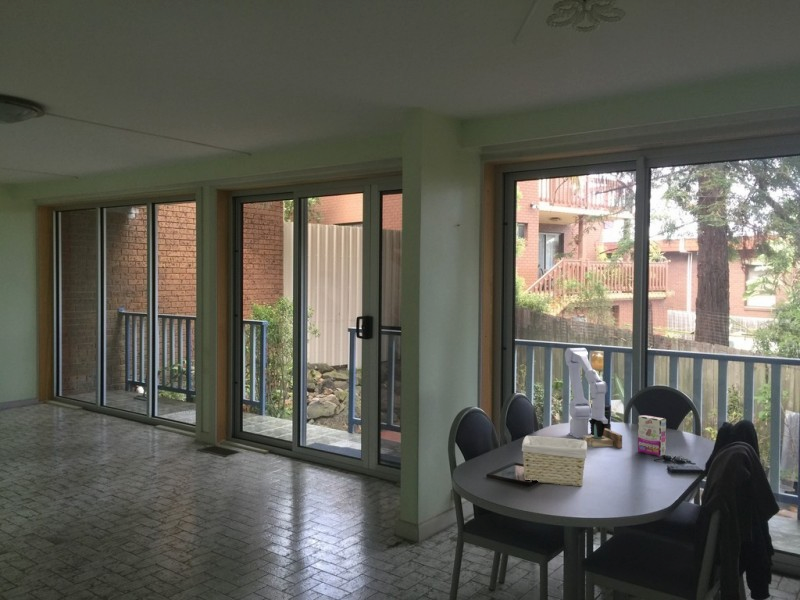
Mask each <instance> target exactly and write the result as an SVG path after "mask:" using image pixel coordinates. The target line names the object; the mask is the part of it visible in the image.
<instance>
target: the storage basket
mask: <svg viewBox="0 0 800 600" xmlns="http://www.w3.org/2000/svg"><path fill="white" fill-rule="evenodd" d="M587 450H588V444H587V442H586V441H583V439H578V438H565V437H553V436H544V435H543V436H539V435H526V436H525V437H524V438H523V440H522V444H521V452H523V453H522V458H523V474H524V476H523V478H524V479H530V480H537V481H538V482H537V483H544V484H547V483H548V484H554V485H559V484H560V486H564V485H565V486H567V485H568V486H572V485H573V486H575V487H582V486H583V483H584V482H583V479H584V470H585V469H584V468H585V461H586V459H587V453H588V451H587Z"/></svg>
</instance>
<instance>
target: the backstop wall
mask: <svg viewBox="0 0 800 600" xmlns="http://www.w3.org/2000/svg"><path fill="white" fill-rule="evenodd" d="M603 436H606V437H608V438H610V439H612V440H613V446H612V447H614V446H615V447H614V448H616V447H617V448H616V449H622V448H623V435H622V434H620V433H618V432H616V431H613V430H612V429H611V430H609V429H606V428H605V429H604V432H603Z"/></svg>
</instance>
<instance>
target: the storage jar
mask: <svg viewBox="0 0 800 600" xmlns="http://www.w3.org/2000/svg"><path fill="white" fill-rule="evenodd" d="M590 406H591V408H592V403H590ZM611 415H612V405H611V404H607V403H605V414H604V417H605V418H606V419H608V424H607V425H606V427H605V428H606V429H609V430H611V431H612V426H611V417H612V416H611ZM590 420H592V418H590ZM589 424H590V423H589ZM589 429H590V435H591V434H592V435H594V434H593V430H592V426H591V424H590V428H589Z"/></svg>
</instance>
